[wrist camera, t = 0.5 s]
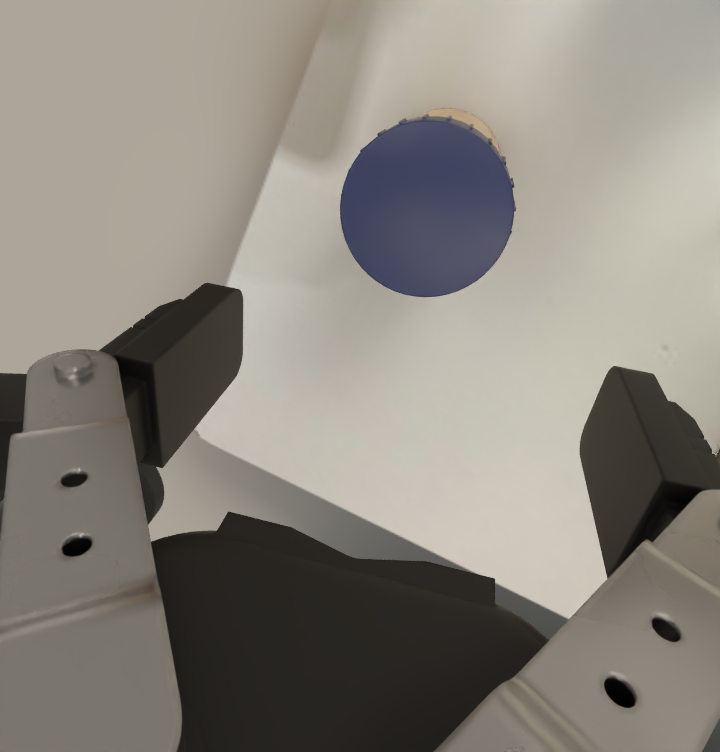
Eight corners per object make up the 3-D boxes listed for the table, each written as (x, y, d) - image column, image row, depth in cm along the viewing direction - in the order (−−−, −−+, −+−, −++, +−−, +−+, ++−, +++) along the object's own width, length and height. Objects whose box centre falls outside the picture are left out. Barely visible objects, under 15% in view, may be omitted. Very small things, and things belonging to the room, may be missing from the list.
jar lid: (497, 291, 23) (497, 308, 21) (346, 273, 24) (335, 287, 22) (529, 121, 20) (533, 126, 18) (352, 107, 21) (341, 111, 19)
